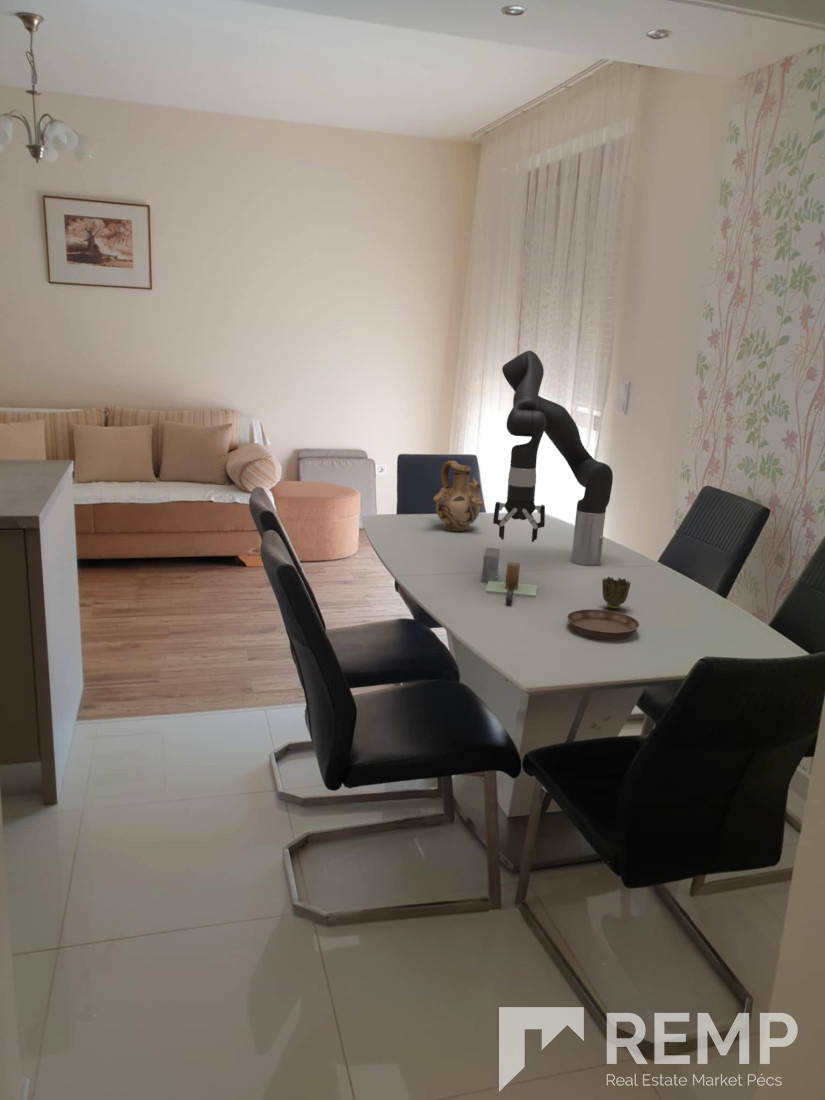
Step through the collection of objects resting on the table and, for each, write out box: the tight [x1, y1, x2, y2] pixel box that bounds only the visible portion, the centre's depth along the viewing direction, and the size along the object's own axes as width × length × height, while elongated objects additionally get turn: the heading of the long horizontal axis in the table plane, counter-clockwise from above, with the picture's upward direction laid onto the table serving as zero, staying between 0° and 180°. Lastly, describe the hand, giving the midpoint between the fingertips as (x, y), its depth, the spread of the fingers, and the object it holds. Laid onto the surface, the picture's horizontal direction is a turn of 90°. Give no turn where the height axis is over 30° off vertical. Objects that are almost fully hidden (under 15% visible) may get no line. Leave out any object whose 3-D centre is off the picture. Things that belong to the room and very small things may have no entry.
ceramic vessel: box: [432, 460, 485, 532], centre depth 308 cm, size 18×19×25 cm
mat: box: [485, 580, 538, 598], centre depth 239 cm, size 14×10×1 cm
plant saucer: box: [566, 608, 640, 641], centre depth 209 cm, size 18×18×3 cm
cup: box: [601, 576, 631, 611], centre depth 226 cm, size 8×7×8 cm
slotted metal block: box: [481, 547, 501, 584], centre depth 249 cm, size 4×10×8 cm, turn 170°
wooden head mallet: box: [505, 561, 521, 605], centre depth 232 cm, size 17×4×7 cm, turn 171°
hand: (517, 540), depth 235 cm, fingers open, 8 cm apart
